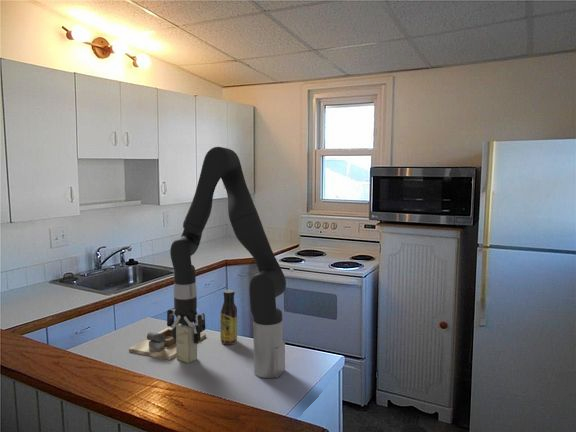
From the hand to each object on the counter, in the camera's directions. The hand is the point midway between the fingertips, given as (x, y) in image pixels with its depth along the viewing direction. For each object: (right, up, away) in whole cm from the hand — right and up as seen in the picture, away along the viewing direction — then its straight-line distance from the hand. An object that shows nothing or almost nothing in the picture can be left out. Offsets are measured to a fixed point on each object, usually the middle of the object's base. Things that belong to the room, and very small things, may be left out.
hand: (186, 340), depth 155 cm
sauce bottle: (+13, -5, +14) cm, 20 cm away
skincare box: (0, -7, 0) cm, 7 cm away
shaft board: (-9, -5, +13) cm, 17 cm away
